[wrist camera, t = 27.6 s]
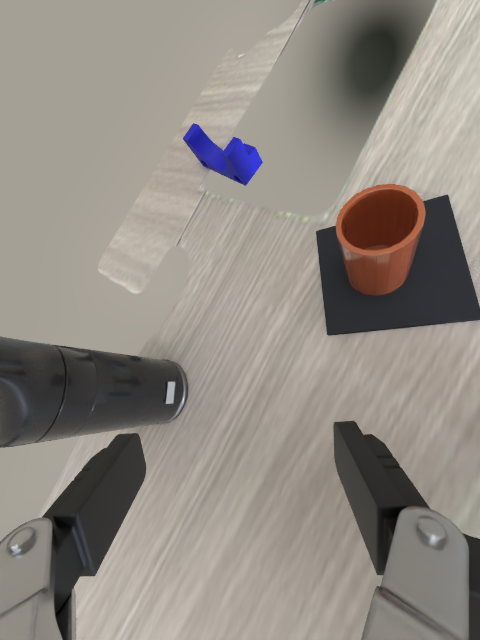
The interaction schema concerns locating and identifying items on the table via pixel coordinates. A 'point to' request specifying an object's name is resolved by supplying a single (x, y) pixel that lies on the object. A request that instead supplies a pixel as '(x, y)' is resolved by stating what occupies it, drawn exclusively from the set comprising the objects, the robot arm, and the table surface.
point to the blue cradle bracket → (224, 155)
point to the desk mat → (417, 290)
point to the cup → (380, 237)
